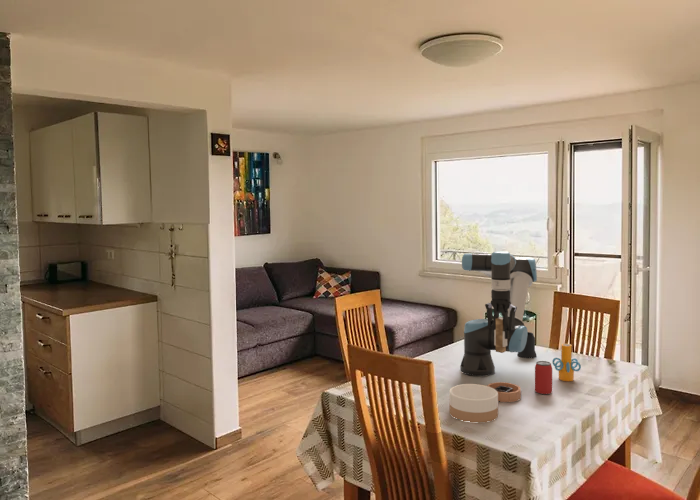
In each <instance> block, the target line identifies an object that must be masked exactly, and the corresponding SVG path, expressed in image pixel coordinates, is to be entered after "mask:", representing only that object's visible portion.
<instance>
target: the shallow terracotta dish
mask: <svg viewBox="0 0 700 500" xmlns="http://www.w3.org/2000/svg"><path fill="white" fill-rule="evenodd" d="M486 386H488V387H491V388H493V389H495V388H497V387H499V386H505V387H510V388H513V392H509V393H508V392H498V391H497V392H498V402H499V401H500V402H499V403H501V402H502V403H513V402H518V401H519V400H521V399H522V395H521V394H522V391H521V386H520V385H517V384H516V383H510V382H505V381H504V382H503V381H497V382H496V381H495V382H490V383H489V384H487V385H486Z"/></svg>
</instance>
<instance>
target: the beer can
mask: <svg viewBox="0 0 700 500" xmlns="http://www.w3.org/2000/svg"><path fill="white" fill-rule="evenodd" d="M534 391H535V393H537V394H539V395H550V394H552V393H553V366H552V362H550V361H548V360H547V361H546V360H537V361H536V362H535V365H534Z"/></svg>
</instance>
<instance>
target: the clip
mask: <svg viewBox="0 0 700 500" xmlns="http://www.w3.org/2000/svg"><path fill="white" fill-rule="evenodd" d="M495 390H496V391H498V392H508V393H509V392H513V388H510V387H505V386H499V387H497V388H495Z"/></svg>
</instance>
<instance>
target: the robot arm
mask: <svg viewBox="0 0 700 500" xmlns="http://www.w3.org/2000/svg"><path fill="white" fill-rule="evenodd" d="M461 267H462V270H464V271H467V272H468V271H469V272H471V271H472V272H478V273H481V274H483V275H485V276H487V277H489V278H491V280H490V281H491V282H490V283H491V293H490V294H491V296H490V297H491V301H490V302H488V303H485V304H484V306H485V309H486V317H487V318H476V319H471V320H468V321H467V322H465V323H464V326H463V327H464V329H463V343H464V344H463V346H464V347H463V348H464V349H463V350H464V354H463V357H462V359H461V363H460V366H459V367H460V370H459V371H460V372H461V373H462V372H463V374H465V375H468V376H473V377H474V376H476V377H485V376H492V375H493V374H495V372H496V369H495V363H494V360H493V357H492V355H491V354H492V351H496V318H498V317H500V313H501V315H502V317H501V318H503V324H504V331H503V347H505V346H506V352H508V353H518V352H522V351H523V350H524V348H525V346H526V342H527V336H528V332H529V330H528V328H527V326H526V324H525V323H524V322H523V320H524V318H523V317H524V314H525V308H526V302H527V296H528V291H529V288H530V287H532V285H533V283H535V282H537V281H538V279H537V278H538V275H537V274H538V273H537V271H538V270H537V263H536V259H535V258H534V257H528V256H525V257H524V256H523V257H521V256H518V257H517V256H515V255H513V254H511V253H510V252H509V251H503V250H501V251H493V252H492V253H464V254H463V255H462V257H461Z"/></svg>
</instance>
